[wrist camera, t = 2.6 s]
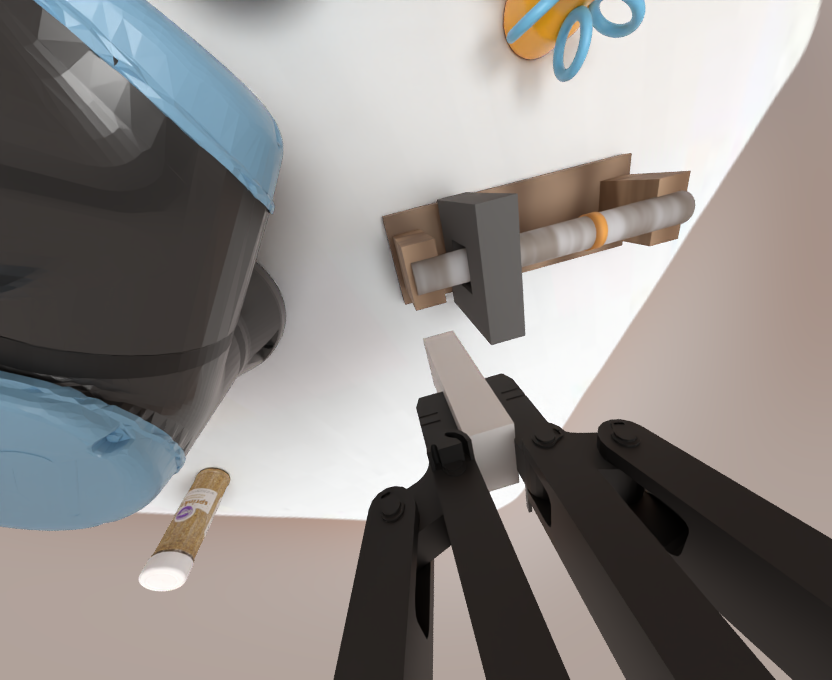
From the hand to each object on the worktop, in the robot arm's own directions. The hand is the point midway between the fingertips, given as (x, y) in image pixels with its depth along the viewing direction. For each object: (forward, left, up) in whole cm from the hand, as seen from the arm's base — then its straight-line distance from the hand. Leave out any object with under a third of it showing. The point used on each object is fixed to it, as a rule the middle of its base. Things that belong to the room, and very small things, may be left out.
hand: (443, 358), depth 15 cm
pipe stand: (+14, 0, -23) cm, 27 cm away
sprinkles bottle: (-34, -24, -23) cm, 48 cm away
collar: (+7, 0, -19) cm, 20 cm away
